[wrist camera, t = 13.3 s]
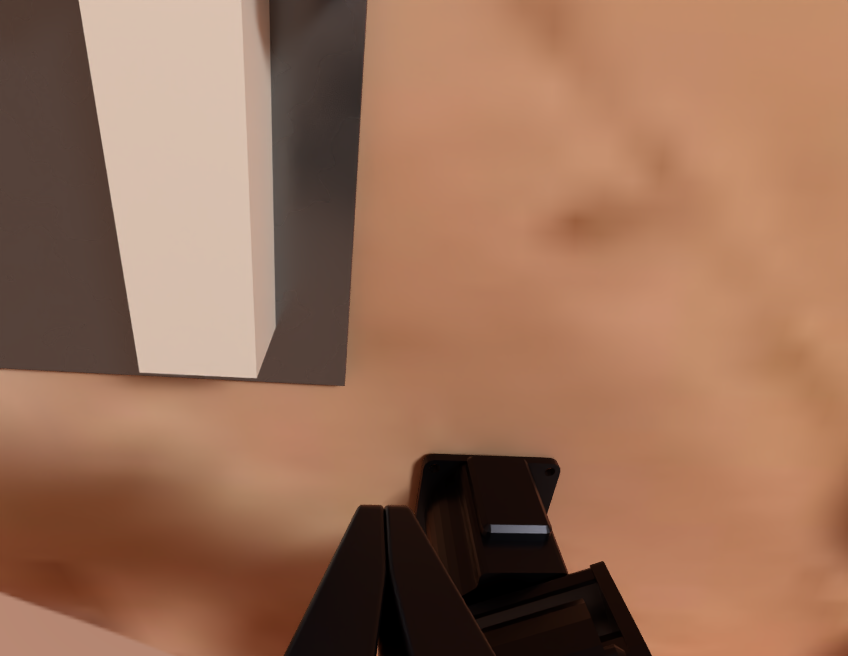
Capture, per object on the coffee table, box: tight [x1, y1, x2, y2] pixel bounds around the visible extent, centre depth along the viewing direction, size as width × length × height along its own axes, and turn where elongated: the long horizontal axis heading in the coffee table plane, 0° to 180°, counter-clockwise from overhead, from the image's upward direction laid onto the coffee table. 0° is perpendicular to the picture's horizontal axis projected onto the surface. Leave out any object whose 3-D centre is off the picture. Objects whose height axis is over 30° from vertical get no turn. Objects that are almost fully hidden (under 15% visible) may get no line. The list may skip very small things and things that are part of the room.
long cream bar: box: [79, 0, 276, 378], centre depth 14 cm, size 17×4×4 cm, turn 173°
